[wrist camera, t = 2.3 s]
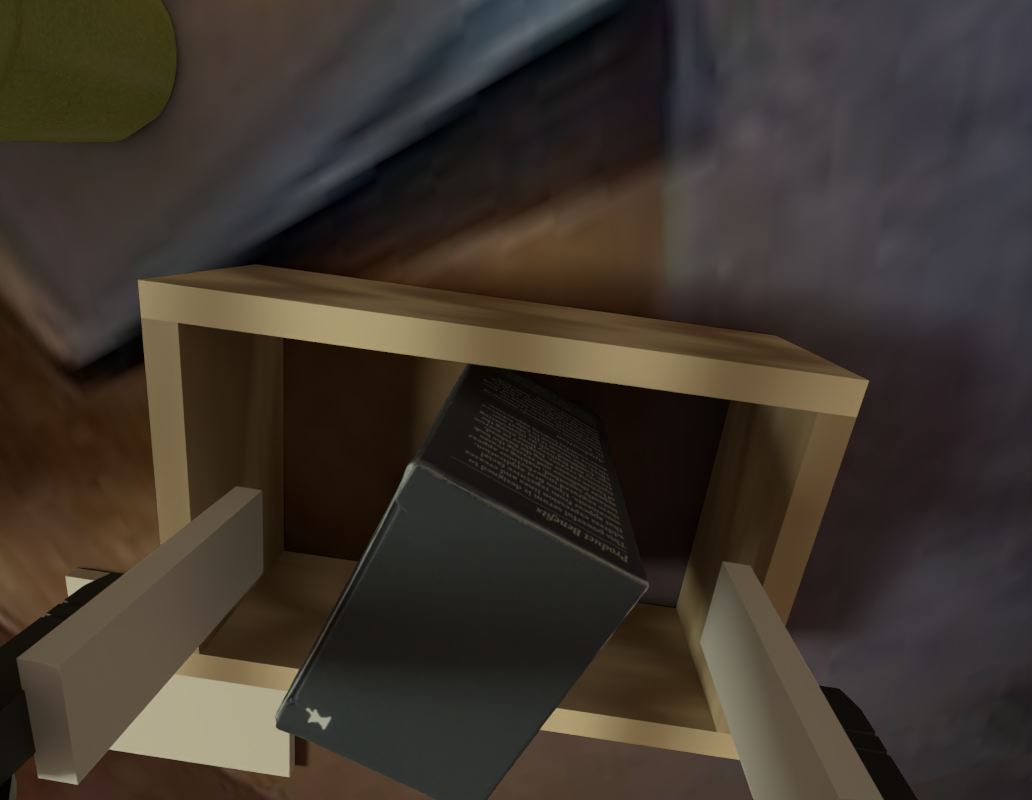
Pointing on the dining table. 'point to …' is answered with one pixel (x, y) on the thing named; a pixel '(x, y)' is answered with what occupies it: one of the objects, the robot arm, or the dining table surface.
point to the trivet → (207, 720)
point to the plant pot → (83, 68)
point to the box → (474, 593)
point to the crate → (512, 345)
